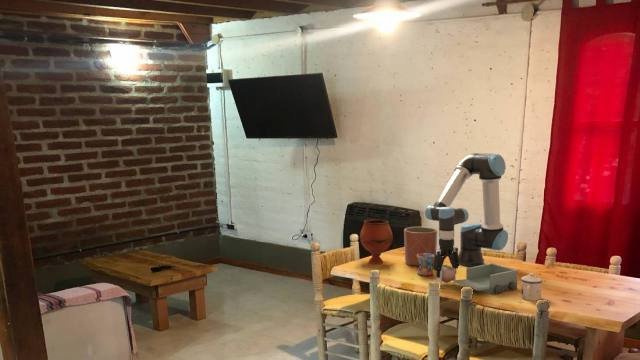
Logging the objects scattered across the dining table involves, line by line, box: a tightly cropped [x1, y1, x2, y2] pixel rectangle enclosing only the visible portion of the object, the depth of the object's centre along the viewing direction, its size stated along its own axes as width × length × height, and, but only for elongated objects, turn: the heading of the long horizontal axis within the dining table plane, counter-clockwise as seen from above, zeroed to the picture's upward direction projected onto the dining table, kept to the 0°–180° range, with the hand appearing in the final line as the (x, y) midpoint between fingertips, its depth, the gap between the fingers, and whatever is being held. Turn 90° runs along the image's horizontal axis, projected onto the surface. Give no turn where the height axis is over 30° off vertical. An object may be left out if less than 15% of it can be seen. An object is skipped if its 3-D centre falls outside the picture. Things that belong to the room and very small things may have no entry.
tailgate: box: [453, 278, 489, 291], centre depth 251 cm, size 2×15×8 cm
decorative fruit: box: [438, 263, 455, 284], centre depth 263 cm, size 9×8×10 cm
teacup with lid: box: [520, 272, 543, 302], centre depth 240 cm, size 12×9×12 cm
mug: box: [416, 253, 434, 277], centre depth 283 cm, size 12×9×11 cm
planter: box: [403, 226, 438, 267], centre depth 305 cm, size 19×19×20 cm
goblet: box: [359, 219, 394, 265], centre depth 307 cm, size 19×19×25 cm
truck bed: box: [465, 262, 518, 295], centre depth 258 cm, size 18×19×9 cm
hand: (446, 282), depth 264 cm, fingers closed on decorative fruit, 8 cm apart
